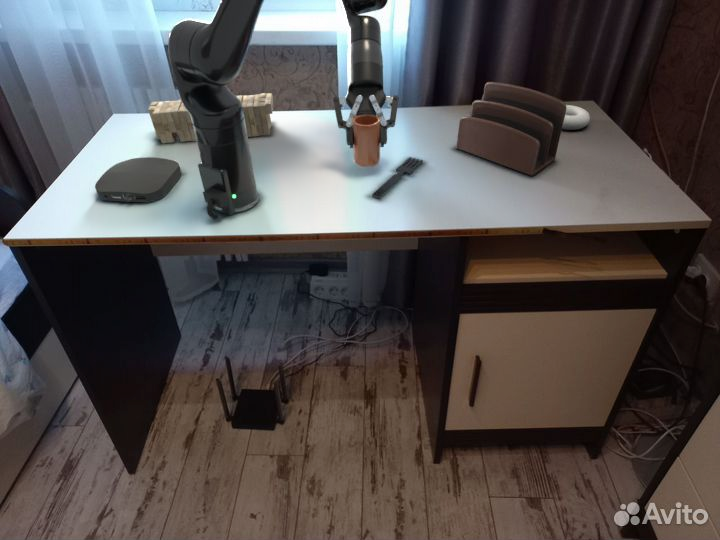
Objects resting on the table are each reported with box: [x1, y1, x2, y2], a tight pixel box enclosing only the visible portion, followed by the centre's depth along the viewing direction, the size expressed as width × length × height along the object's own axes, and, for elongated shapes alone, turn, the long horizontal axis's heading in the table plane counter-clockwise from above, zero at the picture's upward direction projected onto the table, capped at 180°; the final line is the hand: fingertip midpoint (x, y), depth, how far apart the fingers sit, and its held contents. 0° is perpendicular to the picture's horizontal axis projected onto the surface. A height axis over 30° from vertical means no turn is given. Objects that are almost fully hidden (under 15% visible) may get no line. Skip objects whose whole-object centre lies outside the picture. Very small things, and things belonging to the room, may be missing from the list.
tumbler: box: [352, 114, 381, 168], centre depth 106 cm, size 6×6×9 cm
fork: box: [371, 156, 424, 200], centre depth 107 cm, size 18×3×1 cm, turn 149°
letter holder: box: [455, 81, 567, 177], centre depth 110 cm, size 10×20×14 cm, turn 46°
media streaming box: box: [94, 156, 182, 203], centre depth 106 cm, size 15×15×3 cm
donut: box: [562, 104, 591, 131], centre depth 125 cm, size 10×4×10 cm
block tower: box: [147, 92, 274, 144], centre depth 124 cm, size 8×8×29 cm
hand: (367, 146), depth 105 cm, fingers closed on tumbler, 5 cm apart
